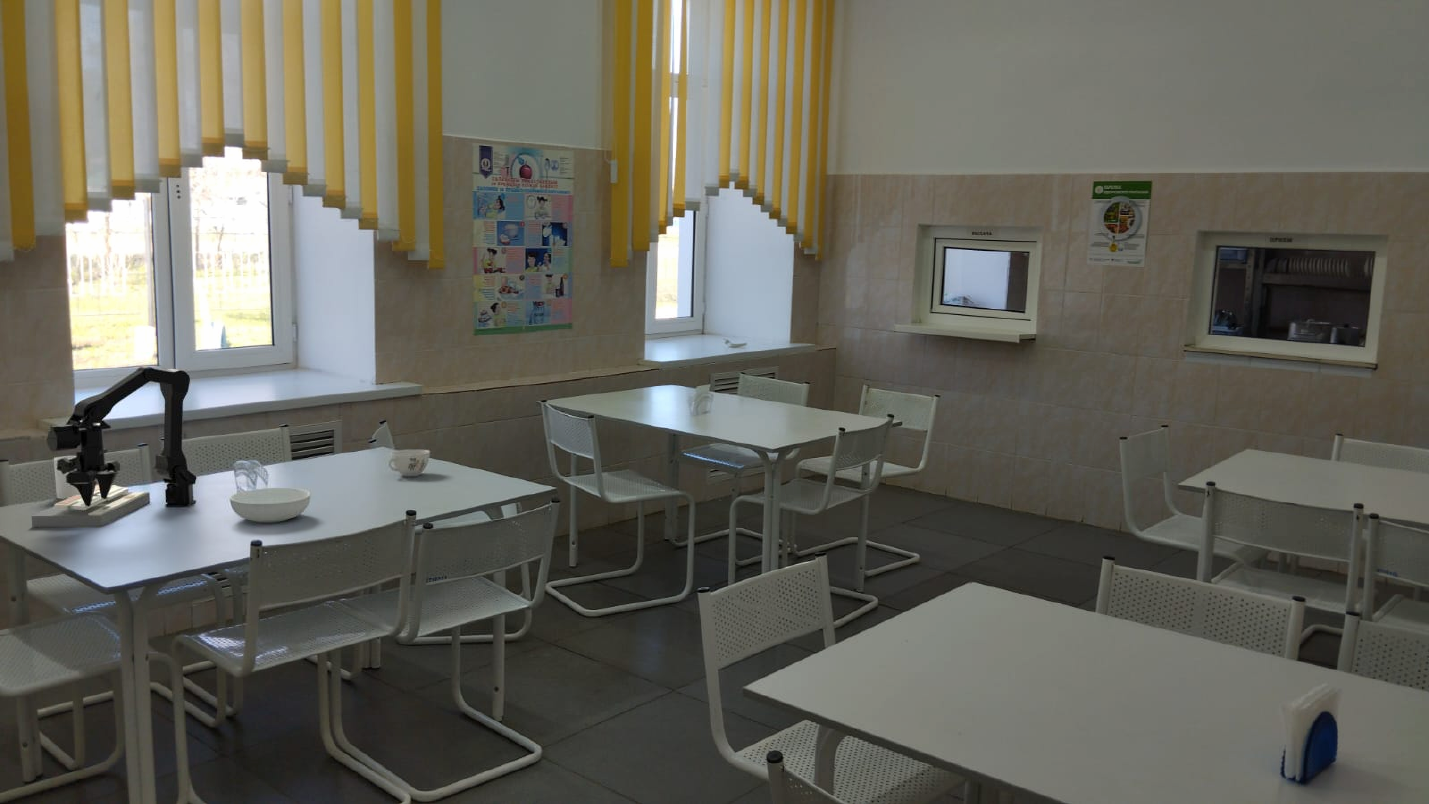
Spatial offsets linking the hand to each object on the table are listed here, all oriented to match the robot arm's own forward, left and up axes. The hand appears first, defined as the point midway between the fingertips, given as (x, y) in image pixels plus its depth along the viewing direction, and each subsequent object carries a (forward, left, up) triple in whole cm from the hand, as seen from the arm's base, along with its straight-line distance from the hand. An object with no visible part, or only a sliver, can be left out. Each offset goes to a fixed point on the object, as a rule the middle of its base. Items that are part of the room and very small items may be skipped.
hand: (96, 502), depth 309 cm
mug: (+21, -31, -5) cm, 38 cm away
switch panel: (+4, -7, -5) cm, 9 cm away
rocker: (+4, 0, 0) cm, 4 cm away
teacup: (-72, -62, -5) cm, 95 cm away
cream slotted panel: (+4, -14, 0) cm, 15 cm away
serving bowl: (-47, 0, -5) cm, 47 cm away
